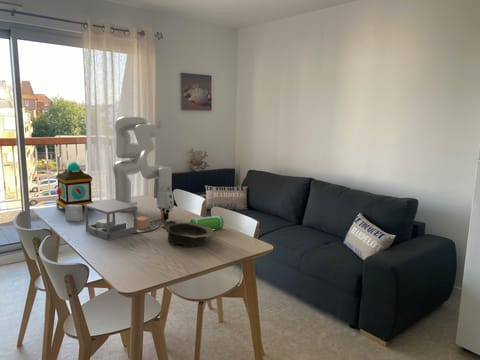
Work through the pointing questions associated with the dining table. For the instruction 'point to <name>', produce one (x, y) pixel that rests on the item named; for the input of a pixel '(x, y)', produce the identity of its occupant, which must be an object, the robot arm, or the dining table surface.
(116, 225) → the lane shelf
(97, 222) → the sage block
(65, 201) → the decorative lantern
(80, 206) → the medicine box
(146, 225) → the tied block
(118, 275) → the dining table surface
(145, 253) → the dining table surface
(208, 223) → the green tapered cylinder
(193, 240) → the stone bowl
